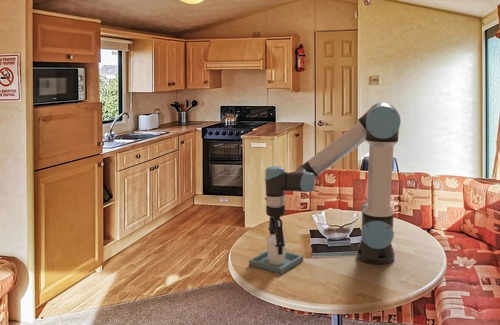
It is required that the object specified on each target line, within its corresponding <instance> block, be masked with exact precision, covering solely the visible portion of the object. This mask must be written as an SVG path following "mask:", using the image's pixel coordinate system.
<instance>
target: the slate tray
mask: <svg viewBox="0 0 500 325" xmlns="http://www.w3.org/2000/svg"><path fill="white" fill-rule="evenodd" d="M303 262H304V255H301V254H297V253H293V252H289V251H286V252H285V263H283V264H281V265H272V264H270V263H269V262H268V251H267V250H265V251H263V252H262V253H260V254H257V255H256V256H253V257H252V258H250V259H249V260H248V266H249V267H251V268H252V267H253V268H256V269H259V270H262V271H263V270H264V271H266V272H270V273H275V274H278V275H284V274H286V273H287V272H289V271H291V270H292V269H293V268H295V267H297V266H299V265H300V264H301V263H303Z"/></svg>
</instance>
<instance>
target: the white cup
mask: <svg viewBox="0 0 500 325" xmlns="http://www.w3.org/2000/svg"><path fill="white" fill-rule="evenodd" d="M283 238H284V246H283V262H277V261H276V247H275V245H277V244H276V237H275V236H270V235H269V236H268V237H267V238H266V249H267V250H266V251H268V262H269V263H270V264H272V265H281V264H283V263H285V252H287V251H286V250H287V246H286V245H287V238H286V237H285V236H283Z"/></svg>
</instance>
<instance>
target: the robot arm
mask: <svg viewBox="0 0 500 325" xmlns="http://www.w3.org/2000/svg"><path fill="white" fill-rule="evenodd" d="M356 122H357V123H356V124H354V125H353V126H352V127H350V128H349V129H348V130H346V131H344V133H343V134H341V135H339V137H337V138H336V139H335V140H333V141H332V142H331V143H329V144H328V145H326V146H325V147H324V148H323V149H321V150H320V151H319V152H317V153H316V154H315V155H313V156H312V157H311V158H310V159H309V160H307V161H305V162H304V163H303V164H301V165H299V166H298V167H297V168H296V170H295V171H292V172H288V171H285V168H284V167H283V166H278V165H273V166H268V167H267V168H266V169H265V173H264V174H265V178H264V180H265V197H264V201H265V204H266V208H265V209H266V210H265V211H266V212H265V214H266V216H268V217H269V222H268V223H269V224H268V231H269V237H270V236H275V237H276V244H277V245H275V247H276V261H277V262H283V246H284V238H283V237H284V231H283V230H284V229H283V220H282V219H281V217H282V216H284V215H285V214H286V205H285V204H286V200H285V199H286V198H285V196H286V195H285V194H286V193H285V192H303V193H307V192H308V193H309V192H314V191H315V186H316V178H317V177H319V176H320V175H321V174H322V173H324V172H325V171H327V170H328V169H329V168H330V167H332V166H333V165H334V164H337V162H339V161H341V160H342V158H344V157H346V156H347V155H348V154H350V153H351V152H353V150H355V149H357V147H360V146H361V145H362V144H363V143H365V142H367V144H368V145H369V148H368V149H369V150H368V167H367V168H368V170H367V188H366V189H367V192H366V203H364V204H363V205H362V207H361V208H362V209H361V230H360V236H361V239H360V242H359V245H358V248H357V250H356V257H357V259H358V260H359V261H362V262H364V263H367V264H371V265H387V264H390V263H392V262H394V261H395V252H394V251H395V250H394V247H393V245H392V241H393V239H394V236H395V235H394V234H395V233H394V218H395V217H394V214H395V212H394V211H393V210H392V207H391V196H392V195H391V194H392V192H391V190H392V179H393V177H392V176H393V160H394V158H393V157H394V147H395V145H396V144H398V142H399V129H400V127H401V115H400V114H399V112H398V110H397V109H396V107H395V106H393V105H392V104H390V103H389V102H388V103H387V102H378V103H375V104H373V105H372V106H371V107H370V108H369V109H368V110H367V111H366V112H365V113H364V114H363V115H362V116H361V117H359V118H358V119H357V121H356Z"/></svg>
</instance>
